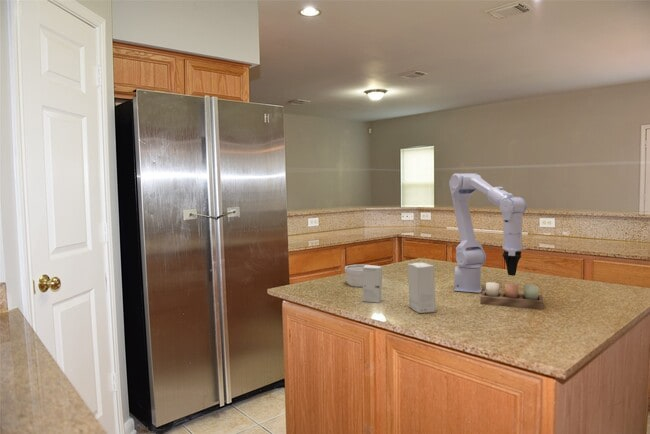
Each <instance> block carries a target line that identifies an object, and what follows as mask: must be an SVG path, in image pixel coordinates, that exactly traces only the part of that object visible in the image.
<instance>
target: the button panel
mask: <svg viewBox="0 0 650 434" xmlns="http://www.w3.org/2000/svg"><path fill="white" fill-rule="evenodd" d="M479 300H480V302H479V303H480V305H488V306H489V305H490V306H500V307H501V306H502V307H511V308H512V307H514V308H521V309H523V308H524V309H525V308H526V309H535V310H544V299H543V295H542V294H538V299H537V300H532V299H525V298H524V293H519V292H518V298H507V297H505V291H499V296H497V297H495V296H487V295H486V290H482V291H481V293H480V298H479Z"/></svg>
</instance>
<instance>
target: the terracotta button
mask: <svg viewBox="0 0 650 434" xmlns="http://www.w3.org/2000/svg"><path fill="white" fill-rule="evenodd" d="M504 292H505V297H507V298H518V293H519V284H517V283H510V282H509V283H505V284H504Z"/></svg>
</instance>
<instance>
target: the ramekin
mask: <svg viewBox="0 0 650 434" xmlns="http://www.w3.org/2000/svg"><path fill="white" fill-rule="evenodd" d="M365 265H366V264H350V265H346V266H345V267H344V272H345V280H346V283H347V285H349V286H351V287H356V288H363V267H364V266H365Z"/></svg>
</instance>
